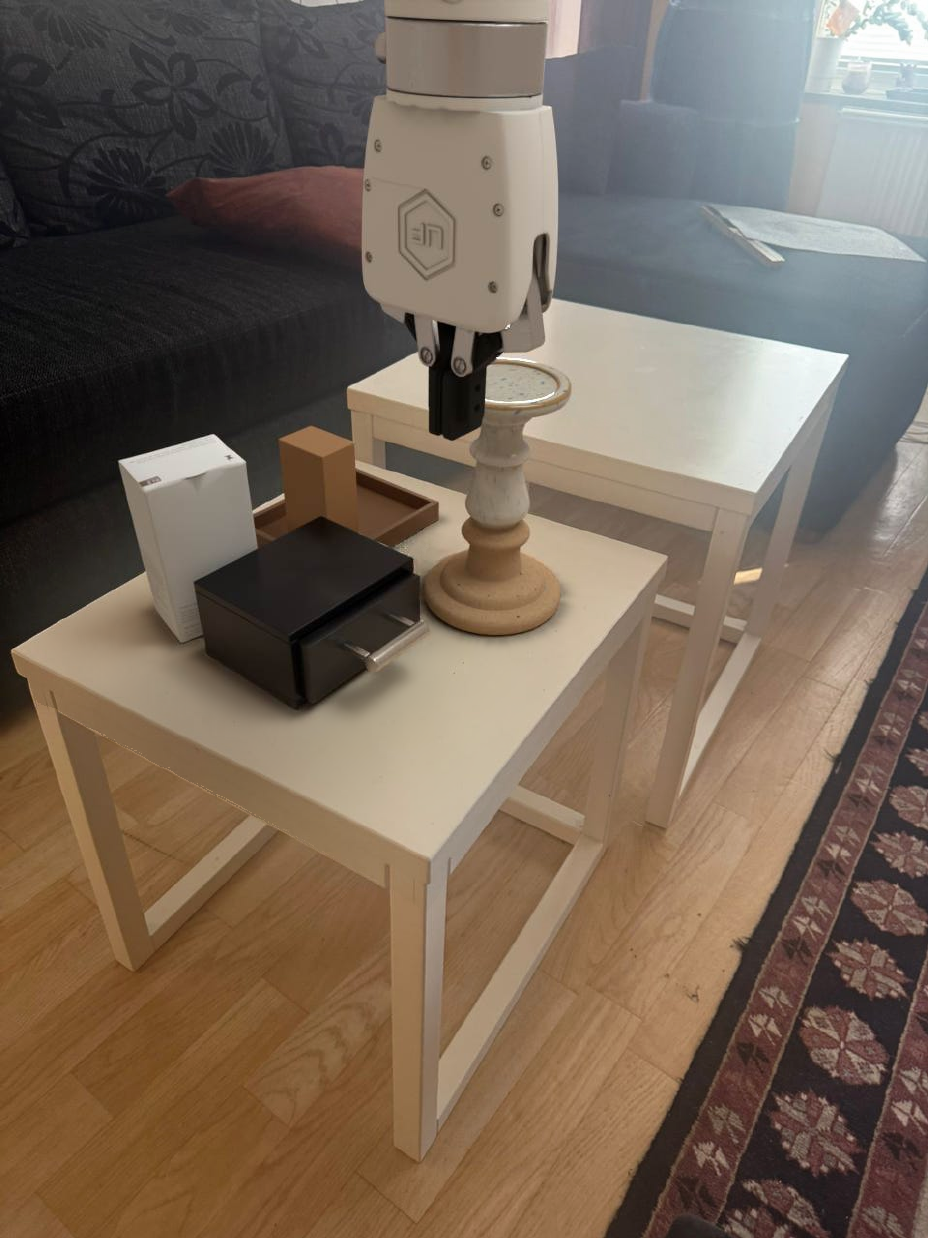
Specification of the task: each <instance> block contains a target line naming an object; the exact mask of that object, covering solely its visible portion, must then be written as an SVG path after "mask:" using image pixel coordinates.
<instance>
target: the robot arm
mask: <svg viewBox="0 0 928 1238" xmlns="http://www.w3.org/2000/svg"><path fill="white" fill-rule="evenodd" d="M383 3H384V4H383V5H384V6H383V7H384V16H386V17H385V18H384V29H385V30H384V32H380V33H379V34H378V35H377V37H376V39H375V43H374V54H375V56H376V59H377V60H378V62H379V63H381V64H383V65H385V87H386V89H385V91H386V93H385V94H381V95H380V94H379V95H376V96H374V99H373V103H372V109H371V114H370V118H369V124H368V131H367V138H366V139H367V140H366V146H365V157H364V165H363V167H364V169H363V181H362V182H363V184H362V202H361V203H362V205H361V206H362V207H361V209H362V210H361V266H362V267H361V269H362V270H361V271H362V279H363V280H362V281H363V285H364V288H365V291H366V293H367V294H368V295H369V297H371V298H372V299H373V300H374V301H376V302H377V303H379V306H380V309H381V311H382V312H384V313H385V314H387V315H388V316H390V317H391V318H393V319H394V320H396V321H397V322H399V323H401V324H403V325H405V326H406V329H407V330H408V331H409V333H410V334H411V336H412V338H413V339H414V341H415V342H416V346H417V355H418V359H419V361H420V363H421V364H422V365H423V366H425V367H428V389H427V390H428V394H427V395H428V397H427V398H428V399H427V400H428V401H427V403H428V404H427V406H428V407H427V408H428V432H429V434H431V435H434V436H436V437H440V436H442V438H443V439H445V440H448V441H450V442H454V441H457V440H458V439H460V438H462V437H464V436H467V435H468V434H470V433H472V432H474V431H476V430H478V429H479V428H480V426H481V424H482V421H483V417H484V413H485V395H486V374H487V366H489V365H491V364H493V363H495V361H496V359H497V358H500V356H501V355H502V354H503V353H504V354H520V353H521V354H522V353H530V352H532V351H534V350H536V349H538V348H541V347H542V346H544V345H545V342H546V332H545V323H544V315H543V314H544V313H546V312H547V311H548V310H549V308H550V306H551V303H552V299H553V293H554V287H555V281H556V273H557V272H556V271H557V257H558V256H557V255H558V240H559V239H558V238H559V237H558V236H559V233H558V232H559V175H558V174H559V173H558V172H559V171H558V155H557V144H556V130H555V124H554V116H553V108H552V106H549V105H543V100H544V86H545V85H544V84H545V72H546V59H547V58H546V57H547V42H548V31H549V30H548V29H549V24H548V23H547V22H548V21H549V16H550V0H383Z"/></svg>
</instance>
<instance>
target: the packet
mask: <svg viewBox="0 0 928 1238" xmlns="http://www.w3.org/2000/svg"><path fill="white" fill-rule="evenodd" d="M278 449H279V459H280V465H281V479H282V487H283V497H284V499H285V507H286V516H287V526H288V533H289V532H291V531H293V530H294V529H296V528H298V527H300V526H302V525H304V524H306V523H308V522H310V521H312V520H314V519H316V518H318V517H320V516H323V517H325V518H327V519H329V520H331V521H334V522H336V523H338V524H340V525H342V526H344V527H347V528H349V529H351V530H353V531H355V532H358V533H359V531H358V511H357V490H356V469H355V468H356V453H355V451H356V450H355V442H354V441H352V440H349V439H346V438H343V437H342V436H338V435H336V434H333V433H331V432H328V431H326V430H323V429H321V428H318V427H315V426H313V425H310V426H306V427H305V428H302V429H300V430H297V431H295V432H293V433H290V434H287V435H286V436H283V437H281V438H279V439H278Z"/></svg>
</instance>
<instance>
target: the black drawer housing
mask: <svg viewBox="0 0 928 1238" xmlns="http://www.w3.org/2000/svg"><path fill="white" fill-rule="evenodd" d="M414 562H415V561H414V557H412V556H410V555H408V554H406V553H403V552H401V551H399V550H397V549H395V548H394V547H392V548H390V547H388V546H386V545H384V544H382V543H379V542H377V541H375V540H373V539H371V538H369V537H366V536H364V535H362V534H360V533H358V532H355V531H353V530H351V529H349V528H347V527H344V526H342V525H340V524H338V523H336V522H334V521H331V520H329V519H327V518H325V517H323V516H320V517H318V518H316V519H314V520H312V521H310V522H308V523H306V524H304V525H302V526H300V527H298V528H296V529H294V530H293V531H291V532H289V533H287V534H285V535H283V536H281V537H279V538H277V539H275V540H273V541H271V542H269V543H267V544H266V545H264V546H262V547H260V548H258V549H256V550H254V551H252V552H250V553H248V554H246V555H244V556H242V557H240V558H238V559H237V560H235V561H233V562H231V563H229V564H227V565H225V566H223V567H221V568H219V569H217V570H215V571H213V572H211V573H210V574H208V575H206V576H204V577H202V578H200V579H198V580H196V581H194V588H195V594H196V599H197V604H198V610H199V615H200V621H201V626H202V631H203V635H202V636H203V641H204V646H205V654H206V655H207V656H208V657H210V658H212V659H214V660H215V661H216V662H218V663H220V664H222V665H223V666H225V667H227V668H228V669H230V670H232V671H233V672H234V673H236V674H238V675H239V676H241V677H242V678H244V679H245V680H248V681H249V682H251V683H252V684H254V685H256V686H257V687H259V688H261V689H262V690H264V691H265V692H267V693H269V694H270V695H272V696H273V697H274V698H277V699H278V700H279V701H282V702H283V703H285V704H286V705H288V706H289V707H291V708H293V709H294V710H296V711H298V710H299V709H301V708H303V707H304V706H305V705H307V704H308V703H310V702H309V701H307V700H306V699H304V698H303V697H302V691H301V682H300V672H299V663H298V654H297V644H296V642H297V639H298V638H300V637H301V636H303V635H304V634H306V633H308V632H309V631H311V630H312V629H314V628H316V627H317V626H319V625H320V624H322V623H324V622H325V621H327V620H328V619H330V618H331V617H333V616H335V615H336V614H338V613H339V612H341V611H343V610H344V609H346V608H347V607H349V606H351V605H352V604H354V603H355V602H357V601H358V600H360V599H362V598H363V597H365V596H366V595H368V594H370V593H371V592H373V591H374V590H376V589H378V588H379V587H381V586H382V585H384V584H385V583H387V582H389V581H390V580H391V582H392V581H393V580H395V579H397V578H398V577H400V576H401V575H403V574H405V573H406V572H408V571H411V572H413V573H415V570H414V565H415V564H414Z"/></svg>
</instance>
